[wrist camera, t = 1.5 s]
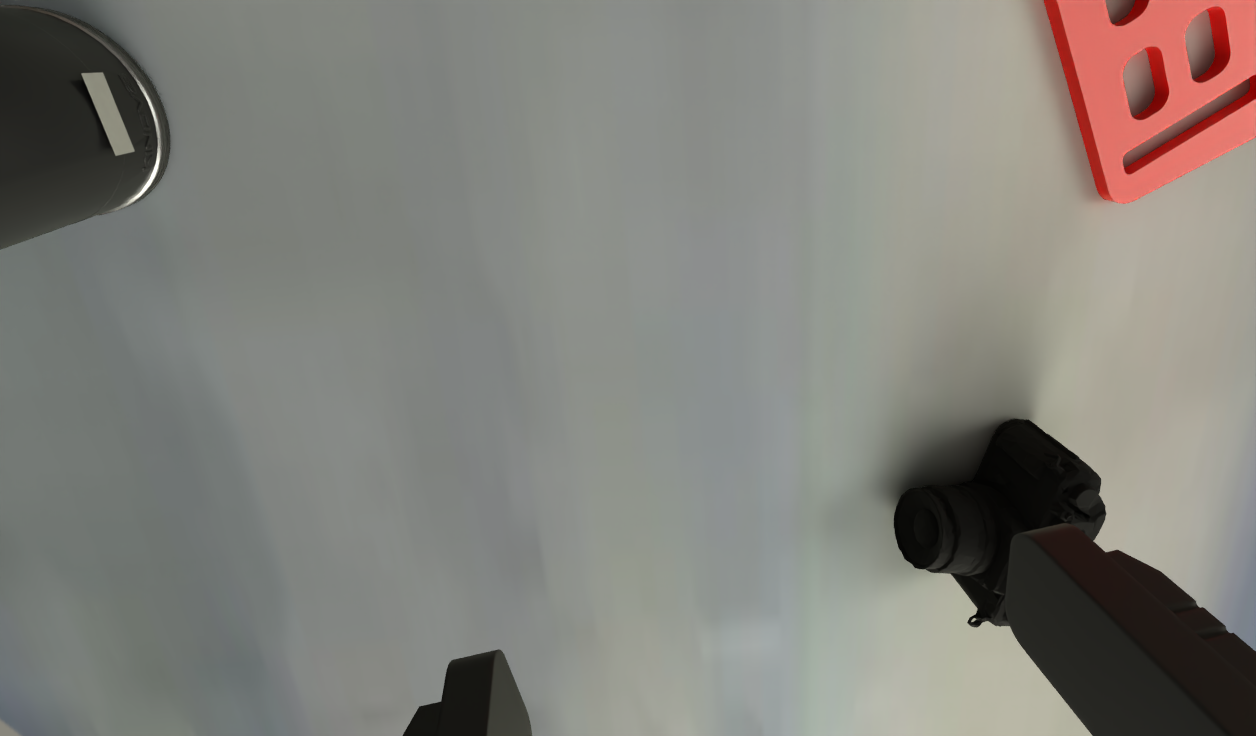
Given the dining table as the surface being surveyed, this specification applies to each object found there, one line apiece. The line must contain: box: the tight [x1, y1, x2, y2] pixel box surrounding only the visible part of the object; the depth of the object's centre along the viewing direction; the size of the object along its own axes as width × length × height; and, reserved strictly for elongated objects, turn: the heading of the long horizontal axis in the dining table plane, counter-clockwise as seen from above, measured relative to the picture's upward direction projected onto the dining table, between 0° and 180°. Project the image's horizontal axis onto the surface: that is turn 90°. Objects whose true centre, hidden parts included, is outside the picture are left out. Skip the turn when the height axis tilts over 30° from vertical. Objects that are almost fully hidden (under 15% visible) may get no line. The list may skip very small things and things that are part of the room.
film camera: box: [894, 419, 1106, 627], centre depth 46 cm, size 15×10×9 cm, turn 172°
